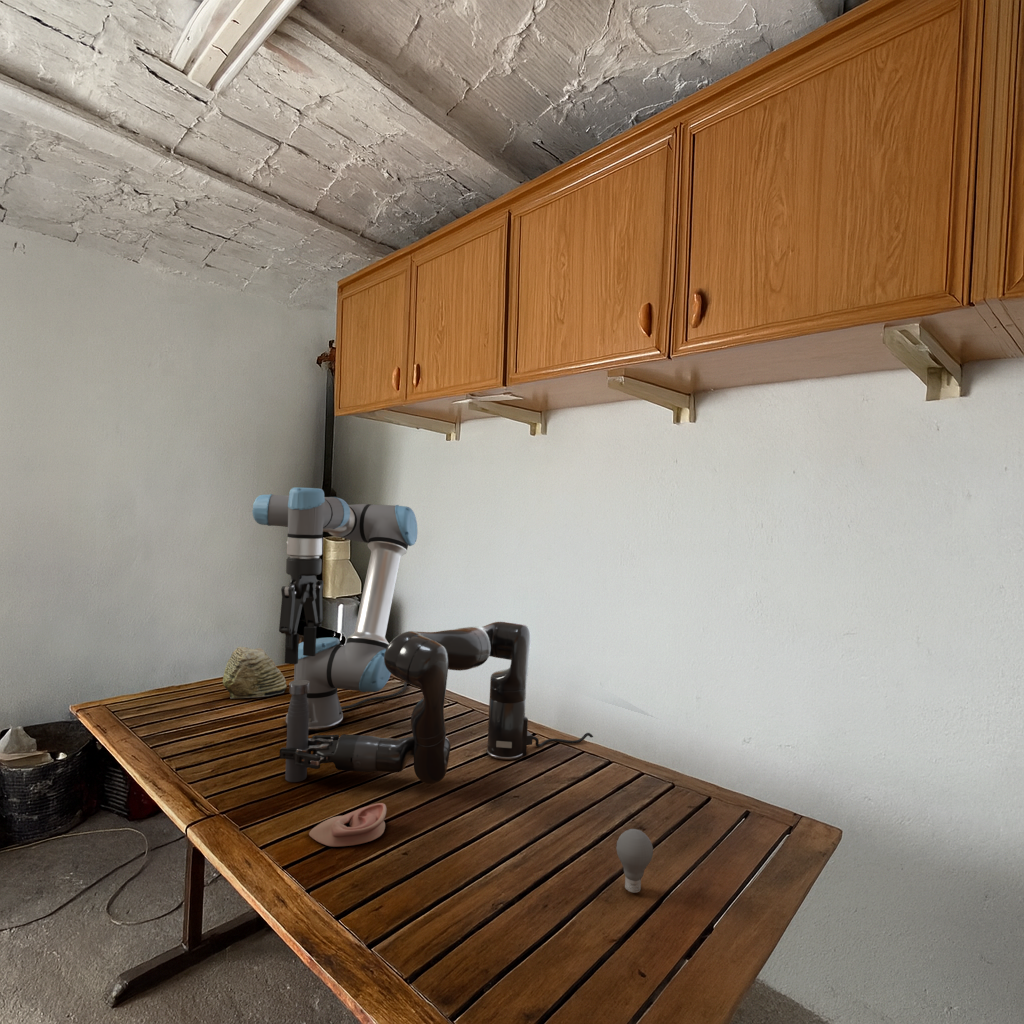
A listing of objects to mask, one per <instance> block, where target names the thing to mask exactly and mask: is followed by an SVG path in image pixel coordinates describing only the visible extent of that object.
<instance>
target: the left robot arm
mask: <svg viewBox="0 0 1024 1024" xmlns="http://www.w3.org/2000/svg"><path fill="white" fill-rule="evenodd" d="M288 494H289V495H287V494H272V493H270V494H260V495H258V496H257V497H256V498H255V500H254V502H253V504H252V511H251V512H252V516H253V520H254V521H255V522H256V524H259V525H260V526H261V525H262V526H268V527H271V526H273V527H284V528H287V536H286V537H287V541H286V555H287V558H286V561H285V573H286V574H287V575H289V576H290V580H289V585H286V586H281V589H280V591H281V604H280V605H281V606H280V615H279V624H278V625H279V626H278V632H279V633H280V634H283V635H285V642H284V648H285V649H284V664H289V665H294V672H293V681H294V680H307V681H309V682H310V688H309V693H307V695H306V697H307V701H308V708H309V729H308V733H316V732H325V731H329V730H332V729H335V728H337V727H339V726H340V725H342V723H343V722H344V714H343V710H348V709H352V708H356V707H357V706H360V705H362V704H364V703H368V702H371V701H377V700H383V699H390V698H394V697H396V696H398V695H401V694H402V693H403V692H404V691H406V689H407V684H408V683H407V682H405V681H403V682H404V683H403V687H402V688H401V689H400V690H398V691H396V692H394V693H391V694H386V695H380V696H379V695H378V696H373V697H368V698H365V699H362V700H360V701H357V702H354V703H352V704H348V705H343V706H341V702H340V699H339V695H338V689H339V690H347V691H357V692H361V693H377V692H380V691H381V690H382V689H384V687H385V686H386V685H387V684H388V682H389V680H390V677H391V675H392V674H391V673H390V672H389V671H388V669H387V668H386V666H385V662H384V655H385V651H386V649H387V647H388V645H389V644H390V642H388V640H387V638H386V634H387V629H388V624H389V619H390V614H391V608H392V604H393V599H394V593H395V588H396V582H397V578H398V574H399V573H398V571H399V567H400V562H401V558H402V557H404V556H405V555H406V554H407V553H408V548H409V547H412V546H414V545H415V544H416V542H417V539H418V521H417V516H416V514H415V512H414V510H413V508H411V507H410V506H405V505H400V504H373V503H372V504H371V503H370V504H369V503H359V504H358V503H357V504H348V503H347V501H345V499H343V498H340V497H337V496H325V491H324V489H322V488H316V487H297V486H296V487H291V488H290V490H289V493H288ZM324 532H325V533H328V534H329V535H331V536H333V537H336V538H342V539H346V540H349V541H353V542H357V543H365V544H366V543H367V545H366V546H367V548H368V550H369V551H370V557H369V561H368V566H367V571H366V576H365V580H364V585H363V589H362V594H361V599H360V602H359V603H360V604H359V608H358V613H357V618H356V623H355V627H354V632H353V633H352V634H350V635H349V636H347V638H346V642H345V644H340V643H341V641H340V639H339V638H338V637H334V636H333V637H318V638H317V628H321V627H322V622H323V620H324V619H323V618H324V617H323V589H324V588H323V587H324V580H321V579H317V576H319V575H321V574H322V568H323V567H322V566H323V565H322V564H323V559H322V558H321V556H322V555H323V537H324V536H323V535H324ZM302 609H303V612H304V618H305V624H306V626H304V627H303V641H302V642H300V634H299V633H298V627H299V623H300V620H301V619H300V618H301V613H302ZM287 717H288V712H287V713H286V715H285V726H286V727H287Z"/></svg>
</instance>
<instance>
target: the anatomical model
mask: <svg viewBox="0 0 1024 1024" xmlns="http://www.w3.org/2000/svg"><path fill="white" fill-rule="evenodd" d="M386 816H387V805H386V804H385V803H383V802H378V803H373V804H370V805H368V806H364V807H360V808H358V809H355V810H353V811H351V812H348V813H346V814H344V815H343V814H342V815H337V816H333V817H331V818H328V819H326V820H323V821H322V822H320V823H318V824H317V825H315V826H314V827H313V828H311V830H309V832H308V835H309V837H310V838H311V839H313V840H315V841H316V842H318V843H319V844H321V845H325V846H327V847H333V848H335V847H348V846H349V847H350V846H357V845H361V844H365V843H368V842H372V841H374V840H376V839H378V838H380V837H381V836H382V835H383V834H384V832H385V829H386V822H385V819H386Z"/></svg>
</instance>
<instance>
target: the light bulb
mask: <svg viewBox="0 0 1024 1024" xmlns="http://www.w3.org/2000/svg"><path fill="white" fill-rule="evenodd" d="M615 849H616V854H617V857H618V859H619V861H620V863H621V865H622V867H623V873H624V874H623V875H624V876H625V878H624V888H625V890H627V891H628V892H630V893H634V894H635V893H639V892H640V891H641V889H642V887H641V886H642V879H643V877H644V875H645V871H646V868H647V867H648V866H649V864H650V863H651V861H652V859H653V855H654V847H653V843H652V841H651V838H649V836H648V835H647V834H646V833H645V832H643V831H642V830H641V829H636V828H629V829H627V830H625V831H623V832H622V833H621V834H620V835H619V837H618V839H617V841H616V847H615Z"/></svg>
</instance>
